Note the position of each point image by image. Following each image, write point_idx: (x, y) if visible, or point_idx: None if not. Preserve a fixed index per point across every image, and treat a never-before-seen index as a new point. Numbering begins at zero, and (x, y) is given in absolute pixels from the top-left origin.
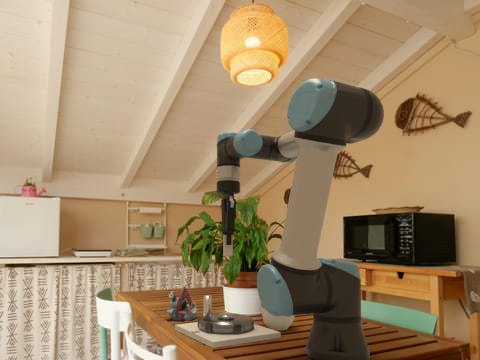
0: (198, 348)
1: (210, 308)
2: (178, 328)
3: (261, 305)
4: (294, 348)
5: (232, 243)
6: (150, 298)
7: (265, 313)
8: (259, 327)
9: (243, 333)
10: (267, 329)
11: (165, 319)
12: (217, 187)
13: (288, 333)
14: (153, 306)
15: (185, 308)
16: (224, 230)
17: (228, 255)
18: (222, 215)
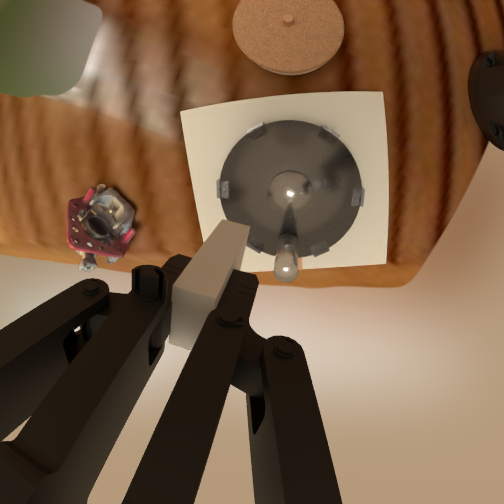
0: (369, 280)
1: (297, 251)
2: None
3: (270, 69)
4: (454, 126)
5: (233, 262)
6: None
7: (299, 74)
8: (316, 105)
9: None
10: (344, 100)
11: None
12: None
13: (348, 50)
14: (13, 233)
15: (96, 217)
16: (155, 363)
17: (244, 251)
18: (10, 431)
